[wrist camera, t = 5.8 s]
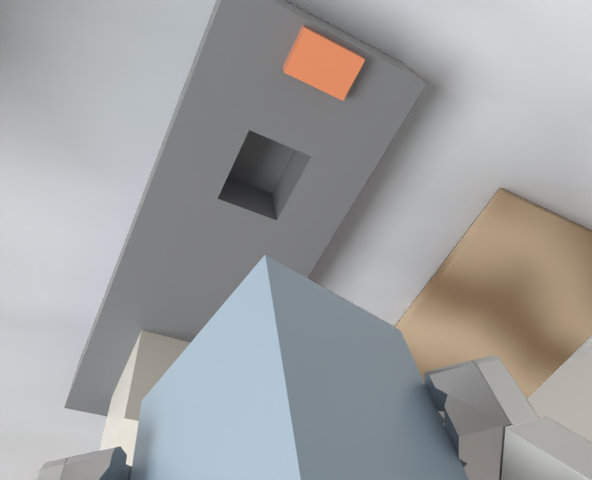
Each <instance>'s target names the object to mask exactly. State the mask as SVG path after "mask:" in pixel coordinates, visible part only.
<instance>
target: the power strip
mask: <svg viewBox="0 0 592 480" xmlns="http://www.w3.org/2000/svg"><path fill="white" fill-rule="evenodd" d="M426 84H427V83H426V82H424V81H423V80H422V79H421V78H420V77H419V76H417V75H416V74H415V73H414V72H413V71H411V70H410V69H409V68H408V67H407V66H405V65H404V64H403V63H401V62H399V61H397V60H395V59H394V58H392V57H390V56H388V55H386V54H384V53H382V52H380V51H379V50H377V49H375V48H373V47H371V46H369V45H367V44H366V43H364V42H362V41H360V40H358V39H356V38H354V37H352V36H351V35H349V34H347V33H345V32H343V31H341V30H339V29H337V28H336V27H334V26H332V25H330V24H328V23H326V22H324V21H322V20H321V19H319V18H317V17H315V16H313V15H311V14H309V13H307V12H306V11H304V10H302V9H300V8H298V7H296V6H294V5H292V4H291V3H289V2H287V1H285V0H217V2H216V4H215V7H214V9H213V12H212V15H211V17H210V20H209V23H208V25H207V28H206V30H205V33H204V36H203V38H202V41H201V44H200V46H199V49H198V51H197V54H196V57H195V59H194V62H193V65H192V67H191V70H190V72H189V75H188V78H187V80H186V83H185V86H184V88H183V91H182V93H181V96H180V99H179V101H178V104H177V107H176V109H175V112H174V114H173V117H172V120H171V122H170V125H169V128H168V130H167V133H166V136H165V138H164V141H163V143H162V146H161V149H160V151H159V154H158V157H157V159H156V162H155V164H154V167H153V170H152V172H151V175H150V178H149V180H148V183H147V185H146V188H145V191H144V193H143V196H142V199H141V201H140V204H139V206H138V209H137V212H136V214H135V217H134V220H133V222H132V225H131V227H130V230H129V233H128V235H127V238H126V241H125V243H124V246H123V248H122V251H121V254H120V256H119V259H118V262H117V264H116V267H115V269H114V272H113V275H112V277H111V280H110V283H109V285H108V288H107V290H106V293H105V296H104V298H103V301H102V304H101V306H100V309H99V311H98V314H97V317H96V319H95V322H94V325H93V327H92V330H91V333H90V335H89V338H88V340H87V343H86V346H85V348H84V351H83V354H82V356H81V359H80V361H79V364H78V367H77V370H76V373H75V376H74V379H73V383H72V386H71V389H70V392H69V395H68V398H67V401H66V404H65V407H64V408H68V409H73V410H78V411H83V412H88V413H93V414H98V415H104V416H107V415H108V411H109V407H110V402H111V398H112V396H113V393H114V391H115V389H116V387H117V384H118V382H119V380H120V377H121V375H122V373H123V371H124V368H125V366H126V364H127V362H128V359H129V357H130V355H131V353H132V350H133V348H134V346H135V344H136V341H137V339H138V337H139V335H140V332H141V330H144V331H148V332H152V333H156V334H159V335H163V336H167V337H171V338H175V339H179V340H182V341H186V342H190V343H191V342H192V341H193V339H194V338H195V337H196V336H197V335H198V333H199V332H200V331H201V330H202V329H203V327H204V326H205V325H206V324H207V323H208V322H209V320H210V319H211V318H212V317H213V316H214V314H215V313H216V312H217V311H218V310H219V309H220V307H221V306H222V305H223V304H224V303H225V301H226V300H227V299H228V298H229V297H230V296H231V294H232V293H233V292H234V291H235V290H236V288H237V287H238V286H239V285H240V284H241V282H242V281H243V280H244V279H245V278H246V277H247V275H248V274H249V273H250V272H251V271H252V269H253V268H254V267H255V266H256V265H257V264H258V262H259V261H260V260H261V259H262V258H263V256H264V255H267V256H269V257H271V258H272V259H274V260H276V261H278V262H279V263H281V264H283V265H285V266H287V267H288V268H290V269H292V270H294V271H296V272H297V273H299V274H301V275H303V276H304V277H306V278H308V277H309V275H310V273H311V272H312V270H313V268H314V267H315V265H316V264H317V262H318V260H319V259H320V257H321V255H322V254H323V252H324V251H325V249H326V247H327V246H328V244H329V242H330V241H331V239H332V237H333V236H334V234H335V233H336V231H337V229H338V228H339V226H340V224H341V223H342V221H343V220H344V218H345V216H346V215H347V213H348V211H349V210H350V208H351V206H352V205H353V203H354V202H355V200H356V198H357V197H358V195H359V193H360V192H361V190H362V189H363V187H364V185H365V184H366V182H367V180H368V179H369V177H370V175H371V174H372V172H373V171H374V169H375V167H376V166H377V164H378V162H379V161H380V159H381V158H382V156H383V154H384V153H385V151H386V149H387V148H388V146H389V144H390V143H391V141H392V140H393V138H394V136H395V135H396V133H397V131H398V130H399V128H400V126H401V125H402V123H403V122H404V120H405V118H406V117H407V115H408V113H409V112H410V110H411V109H412V107H413V105H414V104H415V102H416V100H417V99H418V97H419V95H420V94H421V92H422V91H423V89H424V87H425V86H426Z"/></svg>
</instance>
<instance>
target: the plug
mask: <svg viewBox="0 0 592 480" xmlns="http://www.w3.org/2000/svg"><path fill="white" fill-rule="evenodd" d="M189 344H190V342H186V341H182V340H179V339H175V338H171V337H167V336H163V335H159V334H156V333H152V332H148V331H144V330H141V332H140V335H139V337H138V339H137V341H136V344H135V346H134V348H133V350H132V353H131V355H130V357H129V359H128V362H127V364H126V366H125V368H124V371H123V373H122V375H121V377H120V380H119V382H118V384H117V387H116V389H115V391H114V393H113V396H112V398H111V402H110V407H109V411H108V415H107V420H106V424H105V428H104V433H103V437H102V441H101V445H100V450H99V451H101V450H105V449H110V448H115V447H120V446H121V447H122V449H123V450H124V452H125V453H126V454H127V460H126V464H127V465H129V466H132V463H133V456H134V449H135V443H136V436H137V429H138V422H139V415H140V409H141V402H142V400H143V399H144V397H145V396H146V395H147V394H148V393H149V391H150V390H151V389H152V388H153V387H154V386H155V384H156V383H157V382H158V381H159V380H160V378H161V377H162V376H163V375H164V374H165V372H166V371H167V370H168V369H169V368H170V367H171V365H172V364H173V363H174V362H175V361H176V359H177V358H178V357H179V356H180V355H181V354H182V352H183V351H184V350H185V349H186V348H187V346H188V345H189Z"/></svg>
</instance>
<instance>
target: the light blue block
mask: <svg viewBox="0 0 592 480" xmlns="http://www.w3.org/2000/svg"><path fill="white" fill-rule="evenodd" d="M130 480H469V479H468V477H467V474H466V472H465V470H464V468H463V466H462V463H461V461H460V459H459V458H458V455H457V453H456V451H455V449H454V447H453V445H452V443H451V440H450V438H449V436H448V434H447V432H446V430H445V426H444V424H443V422H442V420H441V418H440V415H439V413H438V411H437V410H436V408H435V406H434V404H433V401H432V399H431V397H430V395H429V392H428V390H427V388H426V386H425V383H424V381H423V378H422V376H421V374H420V372H419V370H418V368H417V365H416V363H415V361H414V359H413V357H412V354H411V352H410V350H409V348H408V346H407V344H406V341H405V339H404V337H403V335H402V333H401V330H399V329H397V328H396V327H394V326H392V325H390V324H389V323H387V322H385V321H383V320H381V319H380V318H378V317H376V316H374V315H372V314H371V313H369V312H367V311H365V310H363V309H362V308H360V307H358V306H356V305H355V304H353V303H351V302H349V301H347V300H346V299H344V298H342V297H340V296H338V295H337V294H335V293H333V292H331V291H330V290H328V289H326V288H324V287H322V286H321V285H319V284H317V283H315V282H313V281H312V280H310V279H308V278H306V277H304V276H303V275H301V274H299V273H297V272H296V271H294V270H292V269H290V268H288V267H287V266H285V265H283V264H281V263H279V262H278V261H276V260H274V259H272V258H271V257H269V256H267V255H264V256H263V258H262V259H261V260H260V261H259V262H258V264H257V265H256V266H255V267H254V268H253V269H252V271H251V272H250V273H249V274H248V275H247V277H246V278H245V279H244V280H243V281H242V282H241V284H240V285H239V286H238V287H237V288H236V290H235V291H234V292H233V293H232V294H231V296H230V297H229V298H228V299H227V300H226V301H225V303H224V304H223V305H222V306H221V307H220V309H219V310H218V311H217V312H216V313H215V314H214V316H213V317H212V318H211V319H210V320H209V322H208V323H207V324H206V325H205V326H204V327H203V329H202V330H201V331H200V332H199V333H198V335H197V336H196V337H195V338H194V339H193V341H192V342H191V343H190V344H189V345H188V346H187V348H186V349H185V350H184V351H183V352H182V354H181V355H180V356H179V357H178V358H177V359H176V361H175V362H174V363H173V364H172V365H171V367H170V368H169V369H168V370H167V371H166V372H165V374H164V375H163V376H162V377H161V378H160V380H159V381H158V382H157V383H156V384H155V386H154V387H153V388H152V389H151V390H150V391H149V393H148V394H147V395H146V396H145V397H144V399H143V400H142V402H141V409H140V415H139V422H138V429H137V436H136V443H135V449H134V456H133V463H132V470H131V477H130Z"/></svg>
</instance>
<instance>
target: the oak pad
mask: <svg viewBox="0 0 592 480" xmlns="http://www.w3.org/2000/svg"><path fill="white" fill-rule="evenodd" d="M395 327H396V328H397V329H399V330H401V333H402V335H403V337H404V339H405V341H406V344H407V346H408V348H409V350H410V352H411V354H412V357H413V359H414V361H415V363H416V365H417V368H418V370H419V372H420V374H421V376H422V378H423V381H424V374H425V372H426V371H430V370H434V369H438V368H441V367H445V366H449V365H453V364H457V363H461V362H465V361H469V360H470V361H472V360H475V359H479V358H483V357H487V356H492V355H496V356H497V357H499V358H500V359H501V361H502V362H503V364H504V365H505V367H506V368H507V370H508V371H509V373H510V374H511V376H512V377H513V379H514V380H515V382H516V383H517V385H518V386H519V388H520V389H521V391H522V392H523V394H524V395H525V397H526V398H528V397H529V396H530V395H531V394H532V393H533V392H534V391H535V390H536V389H537V388H538V387H539V386H540V385H541V384H542V383H543V382H544V381H545V380H546V379H547V378H548V377H549V376H550V375H551V374H552V373H553V372H555V371H556V370H557V369H558V368H559V367H560V366H561V365H562V364H563V363H564V362H565V361H566V360H567V359H568V358H569V357H570V356H571V355H572V354H573V353H574V352H575V351H576V350H577V349H578V348H579V347H580V346H581V345H582V344H583V343H584V342H585V341H586V340H587V339H588V338H589V337H590V336H591V335H592V231H591V230H589V229H587V228H584V227H582V226H580V225H578V224H576V223H574V222H572V221H570V220H567V219H565V218H563V217H561V216H559V215H557V214H555V213H553V212H550V211H548V210H546V209H544V208H542V207H540V206H538V205H536V204H533V203H531V202H529V201H527V200H525V199H523V198H521V197H519V196H516V195H514V194H512V193H510V192H508V191H506V190H504V189H502V188H500V189H499V190H498V191H497V193H496V194H495V195H494V197H493V198H492V199H491V201H490V202H489V203H488V205H487V206H486V207H485V209H484V210H483V211H482V212H481V214H480V215H479V216H478V218H477V219H476V220H475V222H474V223H473V224H472V226H471V227H470V228H469V230H468V231H467V232H466V234H465V235H464V236H463V237H462V239H461V240H460V241H459V243H458V244H457V245H456V247H455V248H454V249H453V251H452V252H451V253H450V255H449V256H448V257H447V259H446V260H445V261H444V263H443V264H442V265H441V266H440V268H439V269H438V270H437V272H436V273H435V274H434V276H433V277H432V278H431V280H430V281H429V282H428V284H427V285H426V286H425V288H424V289H423V290H422V291H421V293H420V294H419V295H418V297H417V298H416V299H415V301H414V302H413V303H412V305H411V306H410V307H409V309H408V310H407V311H406V313H405V314H404V315H403V317H402V318H401V319H400V320H399V322H398V323H397V324H396V326H395Z"/></svg>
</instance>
